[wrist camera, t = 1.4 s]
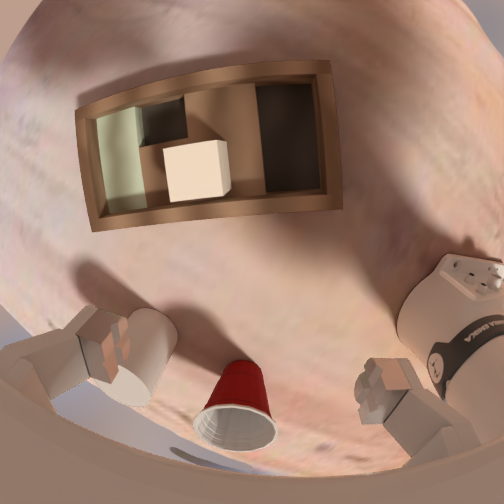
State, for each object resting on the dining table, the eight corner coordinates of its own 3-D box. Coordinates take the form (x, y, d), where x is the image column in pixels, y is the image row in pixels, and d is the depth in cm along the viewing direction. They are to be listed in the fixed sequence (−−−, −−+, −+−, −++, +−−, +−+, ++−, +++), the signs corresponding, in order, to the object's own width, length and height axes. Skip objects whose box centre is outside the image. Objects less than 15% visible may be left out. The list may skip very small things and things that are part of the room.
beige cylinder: (132, 345, 41) (100, 396, 29) (125, 303, 38) (84, 353, 27) (179, 355, 40) (155, 413, 29) (176, 313, 37) (144, 371, 26)
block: (226, 141, 27) (216, 139, 22) (231, 188, 29) (223, 195, 24) (180, 148, 28) (163, 148, 23) (186, 193, 29) (170, 202, 25)
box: (322, 71, 25) (329, 60, 21) (333, 200, 30) (342, 209, 26) (95, 112, 28) (74, 110, 24) (110, 222, 33) (92, 232, 29)
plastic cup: (291, 359, 39) (293, 424, 28) (263, 399, 43) (258, 458, 31) (221, 335, 38) (203, 399, 27) (201, 380, 42) (184, 438, 31)
